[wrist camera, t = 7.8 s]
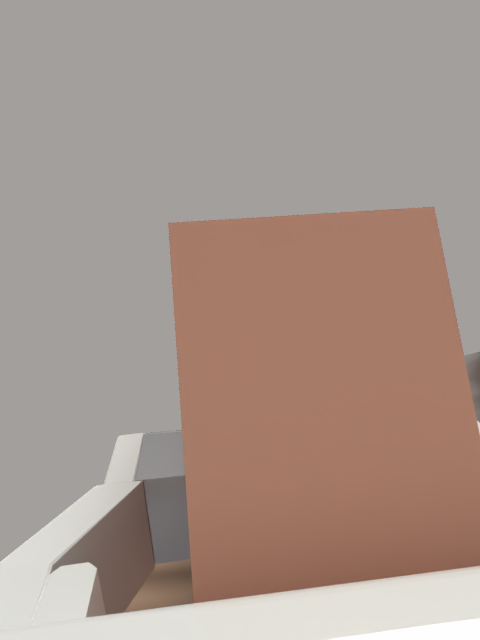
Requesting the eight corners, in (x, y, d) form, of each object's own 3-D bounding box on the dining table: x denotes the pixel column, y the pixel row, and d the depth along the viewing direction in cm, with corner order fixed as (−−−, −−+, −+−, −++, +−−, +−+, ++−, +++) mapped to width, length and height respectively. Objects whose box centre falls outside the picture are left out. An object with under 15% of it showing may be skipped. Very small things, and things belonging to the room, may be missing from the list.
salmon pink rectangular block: (211, 502, 28) (201, 375, 30) (273, 495, 29) (260, 370, 30) (214, 916, 5) (168, 222, 6) (562, 850, 5) (434, 206, 7)
